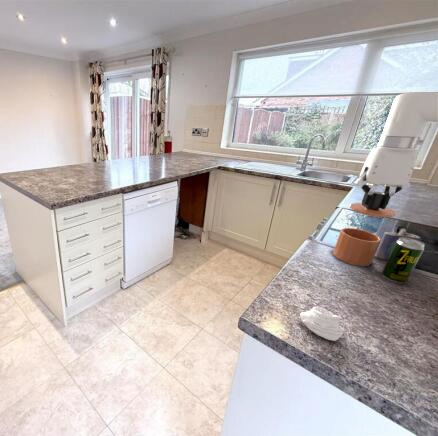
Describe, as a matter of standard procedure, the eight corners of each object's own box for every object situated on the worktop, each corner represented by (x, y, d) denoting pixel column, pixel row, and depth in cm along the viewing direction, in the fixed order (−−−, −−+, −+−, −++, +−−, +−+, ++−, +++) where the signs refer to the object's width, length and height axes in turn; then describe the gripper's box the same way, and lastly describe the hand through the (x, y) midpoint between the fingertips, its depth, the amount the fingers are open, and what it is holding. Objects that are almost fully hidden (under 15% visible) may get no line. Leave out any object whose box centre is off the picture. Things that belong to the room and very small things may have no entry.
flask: (376, 258, 80) (389, 229, 76) (371, 254, 83) (384, 225, 78) (410, 263, 78) (426, 233, 74) (404, 259, 80) (419, 229, 76)
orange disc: (380, 208, 78) (387, 189, 75) (404, 220, 68) (413, 199, 66) (342, 205, 80) (348, 186, 78) (360, 217, 70) (367, 196, 68)
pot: (360, 252, 84) (369, 229, 81) (377, 268, 75) (389, 243, 72) (328, 248, 86) (335, 226, 83) (341, 263, 77) (350, 239, 74)
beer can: (377, 271, 73) (393, 235, 69) (399, 275, 72) (417, 238, 67) (387, 282, 69) (405, 244, 64) (410, 286, 67) (431, 248, 62)
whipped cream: (295, 328, 54) (298, 312, 52) (302, 310, 58) (306, 294, 56) (340, 348, 49) (346, 330, 47) (344, 326, 53) (350, 309, 51)
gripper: (422, 143, 68) (396, 205, 75) (355, 141, 71) (336, 201, 79) (446, 145, 61) (415, 214, 68) (370, 143, 65) (348, 208, 72)
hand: (373, 206), depth 73 cm, fingers closed on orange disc, 3 cm apart
